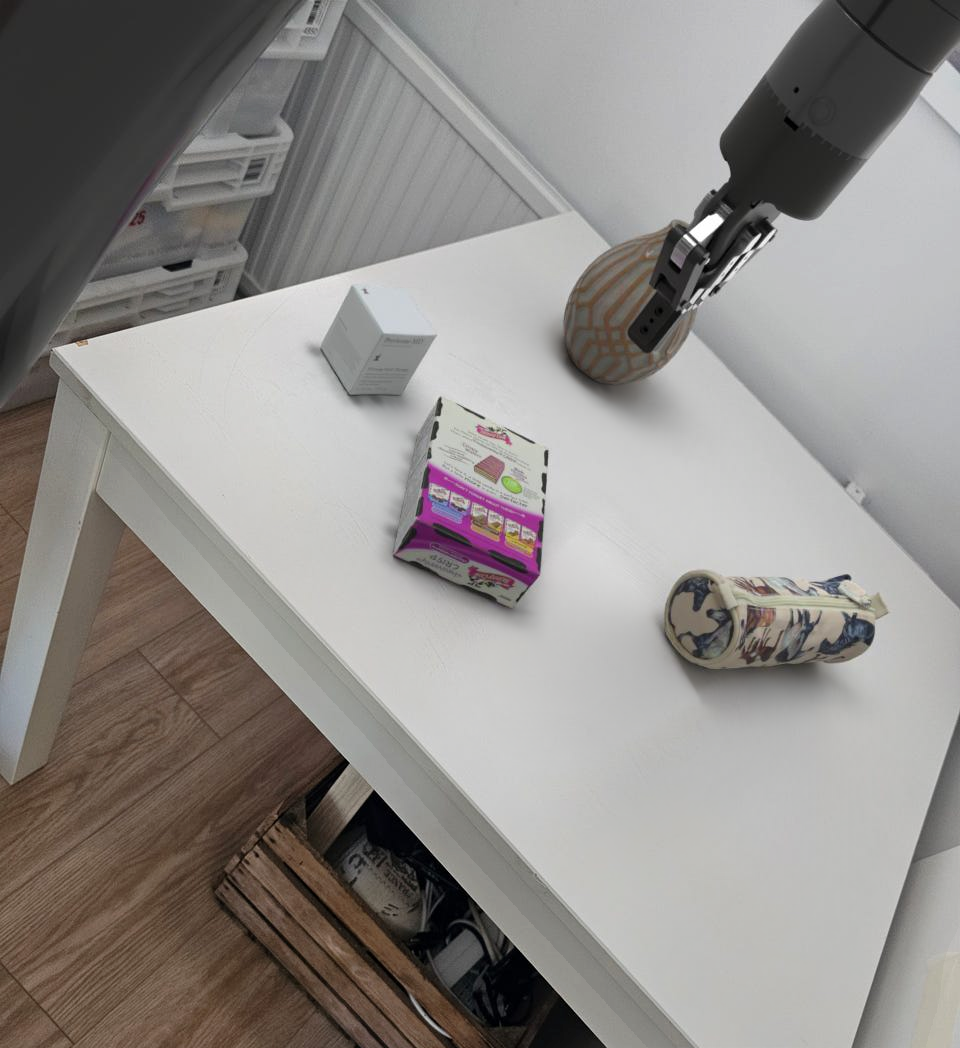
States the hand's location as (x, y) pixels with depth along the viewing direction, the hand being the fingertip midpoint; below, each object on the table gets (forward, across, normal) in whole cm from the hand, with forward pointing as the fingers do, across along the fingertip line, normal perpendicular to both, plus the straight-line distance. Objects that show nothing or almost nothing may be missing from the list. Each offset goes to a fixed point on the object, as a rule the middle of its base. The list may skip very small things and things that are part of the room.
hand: (641, 342), depth 69 cm
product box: (+24, -7, -20) cm, 33 cm away
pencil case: (+24, -20, +21) cm, 38 cm away
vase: (+24, -39, -12) cm, 48 cm away
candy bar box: (+22, +4, +1) cm, 22 cm away
